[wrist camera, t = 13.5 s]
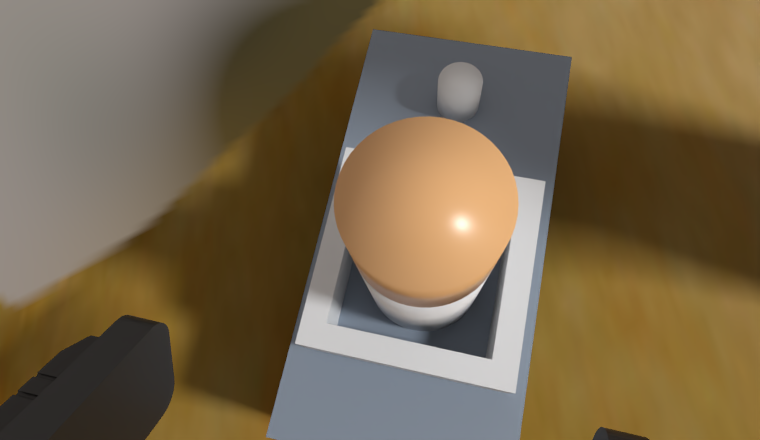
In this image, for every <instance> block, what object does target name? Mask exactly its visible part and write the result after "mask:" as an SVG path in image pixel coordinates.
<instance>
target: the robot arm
mask: <svg viewBox="0 0 760 440" xmlns="http://www.w3.org/2000/svg"><path fill="white" fill-rule="evenodd" d="M173 390H174V373H173V364H172V355H171V346H170V337H169V330H168V327H167V326H166V324H164V323H160V322H156V321H152V320H147V319H143V318H139V317H135V316H130V315H125V316H122V317H120V318H119V319H118V320H117V321H115V322H114V323H113V324H112V325H111V326H110V327H109V328H108V329H107V330H106V331H105V332H104V333H103V334H102V335H101V336H100V337H95V336H89V337H87V338H85V339H83V340H81V341H79V342H77V343H76V344H74V345H72V346H70V347H68V348H66V349H64V350H62V351H61V352H60V353H58V354H57V355H56V356H55V357H54V358H53V359H52V360H51V361H50V362H49V363H47V364H46V365H45V366H44V367H43V368H42V369H41V370H40V371H39V372H38V374H37V376H36V377H32V378H31V379H30V380H29V381H28V382H27V383H25V384H24V385H23V386H22V387H21V388H20V389H19V390H18V393H17V395H12V396H11V397H10V398H9V399H8V400H7V401H6V402H5V403H3V404H2V405H1V406H0V440H145V439H146V438H147V436H148V435H149V434H150V432H151V431H152V429H153V428H154V427H155V425H156V424H157V423H158V421H159V420H160V419H161V417H162V416H163V414H164V413H165V411H166V409H167V407H168V405H169V403H170V401H171V398H172V394H173ZM593 440H649V439H648V438H646V437H642V436H637V435H633V434H629V433H625V432H620V431H616V430H612V429H607V428H603V427H600V428H599V429H598V430H597V431H596V433H595V435H594V438H593Z"/></svg>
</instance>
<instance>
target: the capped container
mask: <svg viewBox="0 0 760 440" xmlns="http://www.w3.org/2000/svg"><path fill="white" fill-rule="evenodd" d="M518 206H519V202H518V190H517V185H516V181H515V178H514V175H513V172H512V170H511V168H510V166H509V164H508V162H507V160H506V159H505V157H504V156H503V154H502V153H501V152H500V150H499V149H498V148H497V147H496V146H495V145H494V144H493V143H492V142H491V141H490V140H489V139H488V138H486V137H485V136H484V135H483V134H481V133H480V132H478V131H476V130H475V129H473V128H471V127H469V126H467V125H465V124H463V123H460V122H457V121H454V120H450V119H446V118H441V117H431V116H428V117H413V118H406V119H402V120H398V121H395V122H393V123H390V124H387V125H385V126H383V127H381V128H379V129H378V130H376V131H374V132H373V133H371V134H370V135H369V136H367V137H366V138H365V139H364V140H363V141H361V142H360V143H359V144H358V145H357V146H356V148H355V149H354V150H353V151H352V152H351V153H350V155H349V156H348V158H347V159H346V161H345V163H344V165H343V167H342V169H341V171H340V173H339V176H338V179H337V182H336V187H335V192H334V214H335V220H336V224H337V228H338V231H339V233H340V236H341V238H342V240H343V242H344V244H345V246H346V248H347V250H348V251H349V253H350V255H351V257H352V259H353V261H354V263H355V265H356V267H357V268H358V270H359V272H360V274H361V276H362V278H363V280H364V282H365V283H366V285H367V287H368V289H369V291H370V293H371V295H372V297H373V298H374V300H375V302H376V304H377V306H378V307H379V309H380V310H381V311H382V312H383V313H384V314H385V315H386V317H388V318H389V319H390V320H391V321H393V322H394V323H396V324H398V325H400V326H402V327H404V328H407V329H410V330H415V331H435V330H439V329H442V328H445V327H447V326H449V325H451V324H453V323H455V322H456V321H457V320H459V319H460V318H461V317H462V316H463V315H464V314H465V313H466V312H467V311H468V309H469V308H470V307H471V305H472V303H473V302H474V300H475V298H476V296H477V295H478V293H479V291H480V290H481V288H482V286H483V285H484V283H485V281H486V280H487V278H488V276H489V275H490V273H491V271H492V270H493V268H494V266H495V265H496V263H497V261H498V260H499V258H500V256H501V255H502V253H503V251H504V250H505V248H506V246H507V244H508V242H509V241H510V239H511V237H512V234H513V231H514V229H515V225H516V221H517V217H518Z"/></svg>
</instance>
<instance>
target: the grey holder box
mask: <svg viewBox="0 0 760 440" xmlns="http://www.w3.org/2000/svg"><path fill="white" fill-rule="evenodd" d="M571 59H572V57H567V56H560V55H553V54H545V53H538V52H531V51H524V50H517V49H510V48H503V47H496V46H488V45H481V44H474V43H467V42H460V41H453V40H446V39H438V38H431V37H424V36H417V35H410V34H403V33H396V32H389V31H381V30H374V29H373V32H372V36H371V40H370V43H369V47H368V51H367V55H366V59H365V62H364V66H363V70H362V74H361V78H360V81H359V85H358V89H357V93H356V97H355V100H354V104H353V108H352V112H351V116H350V119H349V123H348V127H347V131H346V135H345V138H344V142H343V146H342V150H341V154H340V157H339V161H338V165H337V169H336V173H335V176H334V180H333V184H332V188H331V192H330V195H329V199H328V203H327V207H326V211H325V214H324V218H323V222H322V226H321V230H320V233H319V237H318V241H317V245H316V249H315V252H314V256H313V260H312V264H311V268H310V271H309V275H308V279H307V283H306V287H305V290H304V294H303V298H302V302H301V306H300V309H299V313H298V317H297V321H296V325H295V328H294V332H293V336H292V340H291V344H290V347H289V351H288V355H287V359H286V363H285V366H284V370H283V374H282V378H281V382H280V385H279V389H278V393H277V397H276V401H275V404H274V408H273V412H272V416H271V420H270V423H269V427H268V431H267V435H266V437H269V438H273V439H277V440H519V439H520V432H521V424H522V417H523V410H524V402H525V395H526V388H527V381H528V373H529V366H530V359H531V351H532V344H533V337H534V329H535V322H536V315H537V307H538V300H539V293H540V286H541V278H542V271H543V264H544V256H545V249H546V242H547V234H548V227H549V220H550V212H551V205H552V198H553V190H554V183H555V176H556V169H557V161H558V154H559V147H560V139H561V132H562V125H563V117H564V110H565V103H566V95H567V88H568V81H569V73H570V66H571ZM428 116H431V117H441V118H446V119H450V120H454V121H457V122H460V123H463V124H465V125H467V126H469V127H471V128H473V129H475V130H476V131H478V132H480V133H481V134H483V135H484V136H485V137H486V138H488V139H489V140H490V141H491V142H492V143H493V144H494V145H495V146H496V147H497V148H498V149H499V150H500V152H501V153H502V154H503V156H504V157H505V159H506V160H507V162H508V164H509V166H510V168H511V170H512V172H513V175H514V178H515V181H516V185H517V190H518V202H519V206H518V217H517V221H516V225H515V229H514V231H513V234H512V237H511V239H510V241H509V242H508V244H507V246H506V248H505V250H504V251H503V253H502V255H501V256H500V258H499V260H498V261H497V263H496V265H495V266H494V268H493V270H492V271H491V273H490V275H489V276H488V278H487V280H486V281H485V283H484V285H483V286H482V288H481V290H480V291H479V293H478V295H477V296H476V298H475V300H474V302H473V303H472V305H471V307H470V308H469V309H468V311H467V312H466V313H465V314H464V315H463V316H462V317H461V318H460V319H459V320H457V321H456V322H455V323H453V324H451V325H449V326H447V327H445V328H442V329H439V330H435V331H415V330H410V329H407V328H404V327H402V326H400V325H398V324H396V323H394V322H393V321H391V320H390V319H389V318H388V317H386V315H385V314H384V313H383V312H382V311H381V310H380V309H379V307H378V306H377V304H376V302H375V300H374V298H373V297H372V295H371V293H370V291H369V289H368V287H367V285H366V283H365V282H364V280H363V278H362V276H361V274H360V272H359V270H358V268H357V267H356V265H355V263H354V261H353V259H352V257H351V255H350V253H349V251H348V250H347V248H346V246H345V244H344V242H343V240H342V238H341V236H340V233H339V231H338V228H337V224H336V220H335V214H334V192H335V187H336V182H337V179H338V176H339V173H340V171H341V169H342V167H343V165H344V163H345V161H346V159H347V158H348V156H349V155H350V153H351V152H352V151H353V150H354V149H355V148H356V146H357V145H358V144H359V143H360V142H361V141H363V140H364V139H365V138H366V137H367V136H369V135H370V134H371V133H373V132H374V131H376V130H378V129H379V128H381V127H383V126H385V125H387V124H390V123H393V122H395V121H398V120H402V119H406V118H413V117H428Z"/></svg>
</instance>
